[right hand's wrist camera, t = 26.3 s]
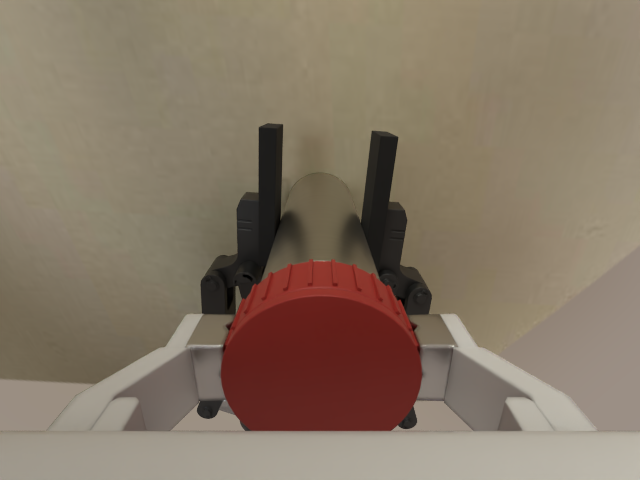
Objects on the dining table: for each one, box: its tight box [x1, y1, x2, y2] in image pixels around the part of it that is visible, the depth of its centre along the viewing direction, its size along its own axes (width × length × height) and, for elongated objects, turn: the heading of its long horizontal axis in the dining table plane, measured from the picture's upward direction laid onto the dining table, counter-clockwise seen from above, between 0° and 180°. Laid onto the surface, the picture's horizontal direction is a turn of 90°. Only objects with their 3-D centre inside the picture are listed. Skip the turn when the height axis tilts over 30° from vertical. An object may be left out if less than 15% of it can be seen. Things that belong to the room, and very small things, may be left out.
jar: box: [261, 173, 380, 281], centre depth 17 cm, size 4×4×15 cm
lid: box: [221, 259, 422, 431], centre depth 10 cm, size 5×5×2 cm
